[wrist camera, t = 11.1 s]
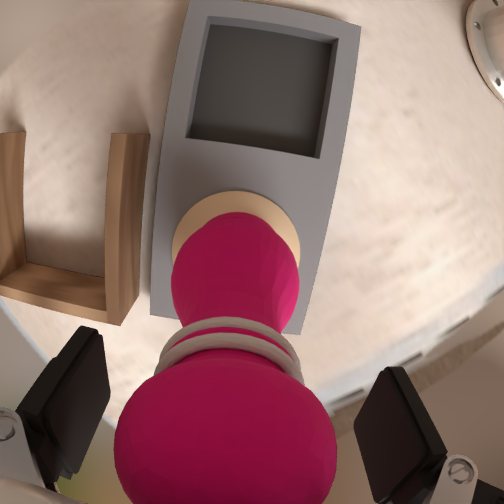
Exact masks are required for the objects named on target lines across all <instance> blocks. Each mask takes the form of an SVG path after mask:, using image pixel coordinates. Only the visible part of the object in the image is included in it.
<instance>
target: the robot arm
mask: <svg viewBox="0 0 504 504" xmlns="http://www.w3.org/2000/svg"><path fill="white" fill-rule="evenodd" d="M466 31H467V38H468V42H469V46H470V50H471V52H472V55H473V58H474V60H475V63H476V65H477V67H478V69H479V71H480V73H481V75H482V77H483V78H484V80H485V82H486V83H487V85H488V86H489V88H490V89H491V90H492V92H493V93H494V95H495V96H496V97H497V98H498V99H499V100H500V101H501V102H502V103H503V104H504V0H474V1H473V2H472V3H471V4H470V6H469V8H468V11H467V15H466ZM110 393H111V392H110V385H109V379H108V373H107V366H106V359H105V351H104V343H103V336H102V335H100V334H99V333H98V330H97V329H94V328H90V327H86V326H80V327H79V328H78V329H77V330H76V332H75V333H74V334H73V336H72V337H71V338H70V339H69V341H68V342H67V343H66V345H65V346H64V347H63V349H62V350H61V351H60V353H59V354H58V356H57V357H55V358H53V359H52V360H51V361H50V362H49V363H48V365H47V366H46V367H45V369H44V370H43V372H42V373H41V374H40V376H39V377H38V378H37V380H36V381H35V383H34V384H33V386H32V387H31V388H30V390H29V391H28V393H27V394H26V396H25V397H24V399H23V400H22V402H21V403H20V404H19V406H18V407H17V409H16V411H13V410H11V409H9V408H5V407H0V504H87V503H84V502H81V501H78V500H75V499H72V498H70V497H67V496H64V495H62V494H60V493H59V490H58V487H57V485H56V483H55V482H57V480H58V478H59V476H62V477H64V478H67V479H71V477H72V475H73V473H74V474H77V473H78V471H79V469H80V467H81V465H82V462H83V460H84V457H85V455H86V452H87V450H88V448H89V445H90V443H91V440H92V438H93V436H94V434H95V431H96V429H97V426H98V424H99V422H100V420H101V418H102V415H103V413H104V411H105V409H106V406H107V404H108V402H109V399H110ZM354 432H355V435H356V438H357V442H358V445H359V448H360V452H361V456H362V459H363V462H364V466H365V470H366V473H367V477H368V480H369V484H370V488H371V492H372V495H373V499H374V501H375V502H376V503H378V504H504V491H503V490H501V489H499V488H496V487H494V486H492V485H490V484H488V483H485V482H483V481H481V480H479V479H477V478H478V471H477V467H476V466H475V464H474V463H473V462H472V461H471V460H470V459H469V458H467V457H465V456H462V455H453V456H450V457H449V458H447V456H446V454H447V452H448V451H447V449H446V447H445V445H444V443H443V441H442V439H441V437H440V435H439V433H438V431H437V429H436V427H435V426H434V423H433V422H432V420H431V418H430V416H429V414H428V412H427V410H426V408H425V406H424V405H423V402H422V401H421V399H420V397H419V395H418V393H417V391H416V389H415V388H414V386H413V384H412V382H411V380H410V379H409V377H408V375H407V373H406V371H405V370H404V368H403V367H386V368H385V369H384V371H381V372H380V373H379V375H378V377H377V379H376V381H375V383H374V385H373V387H372V389H371V391H370V393H369V395H368V397H367V399H366V401H365V402H364V404H363V406H362V408H361V410H360V412H359V413H358V415H357V417H356V419H355V421H354Z"/></svg>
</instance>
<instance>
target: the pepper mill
mask: <svg viewBox="0 0 504 504" xmlns="http://www.w3.org/2000/svg"><path fill="white" fill-rule="evenodd" d="M299 282H300V280H299V274H298V268H297V263H296V260H295V257H294V255H293V253H292V251H291V249H290V248H289V246H288V245H287V243H286V242H285V241H284V240H283V239H282V238H281V237H280V236H279V235H278V234H277V233H276V232H275V231H274V230H273V228H272V227H271V226H270V225H269V224H268V223H267V222H265V221H264V220H263V219H261V218H259V217H257V216H255V215H252V214H249V213H245V212H230V213H225V214H221V215H218V216H216V217H214V218H212V219H211V220H209V221H208V222H207V223H206V224H205V225H204V226H203V227H201V228H200V229H198V230H197V231H196V232H194V233H193V234H192V235H191V236H190V237H189V238H188V239H187V240H186V241H185V242H184V244H183V245H182V247H181V248H180V250H179V252H178V254H177V257H176V259H175V262H174V266H173V270H172V274H171V292H172V299H173V305H174V308H175V311H176V314H177V316H178V318H179V320H180V322H181V324H182V326H183V328H182V329H180V330H179V331H178V332H176V333H175V334H174V335H173V336H172V337H171V338H170V339H169V340H168V342H167V343H166V345H165V346H164V348H163V350H162V352H161V354H160V358H159V363H158V365H157V367H156V369H155V372H154V376H153V377H151V378H149V379H147V380H146V381H145V382H144V383H143V384H142V385H141V386H140V387H139V388H138V389H137V390H136V391H135V392H134V393H133V395H132V396H131V397H130V399H129V400H128V402H127V403H126V405H125V407H124V409H123V411H122V413H121V415H120V417H119V420H118V424H117V428H116V432H115V439H114V459H115V468H116V471H117V474H118V478H119V480H120V483H121V485H122V487H123V490H124V492H125V493H126V494H127V496H128V497H129V499H130V500H131V502H132V503H133V504H322V503H323V501H324V500H325V498H326V497H327V495H328V494H329V491H330V488H331V486H332V483H333V481H334V478H335V473H336V463H337V462H336V461H337V444H336V438H335V432H334V428H333V426H332V423H331V421H330V418H329V416H328V414H327V412H326V410H325V409H324V407H323V405H322V403H321V402H320V401H319V400H318V398H317V397H316V396H315V395H314V394H313V392H312V391H311V390H309V389H308V388H307V387H305V384H304V379H303V376H302V373H301V367H300V361H299V358H298V356H297V354H296V352H295V350H294V348H293V347H292V346H291V344H290V343H289V342H288V340H286V339H285V338H284V337H283V336H282V335H281V332H282V330H283V329H284V328H285V326H286V325H287V323H288V321H289V320H290V318H291V316H292V314H293V312H294V309H295V306H296V303H297V299H298V294H299Z"/></svg>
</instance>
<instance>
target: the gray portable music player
mask: <svg viewBox="0 0 504 504" xmlns="http://www.w3.org/2000/svg"><path fill="white" fill-rule="evenodd" d="M360 33H361V26H358V25H354V24H351V23H348V22H344V21H341V20H337V19H334V18H330V17H326V16H322V15H318V14H314V13H309V12H305V11H300V10H295V9H290V8H285V7H280V6H274V5H268V4H261V3H254V2H246V1H237V0H190V1H189V5H188V9H187V13H186V17H185V21H184V25H183V29H182V34H181V38H180V43H179V48H178V52H177V57H176V62H175V67H174V72H173V78H172V83H171V89H170V94H169V100H168V106H167V113H166V119H165V126H164V133H163V140H162V148H161V156H160V164H159V173H158V182H157V192H156V203H155V215H154V228H153V243H152V262H151V289H150V315H154V316H160V317H166V318H172V319H178V320H179V318H178V316H177V314H176V311H175V308H174V305H173V299H172V292H171V274H172V270H173V266H174V262H175V259H176V257H177V254H178V252H179V250H180V248H181V247H182V245H183V244H184V242H185V241H186V240H187V239H188V238H189V237H190V236H191V235H192V234H193V233H194V232H196V231H197V230H198V229H200V228H201V227H203V226H204V225H205V224H206V223H207V222H208V221H209V220H211V219H212V218H214V217H216V216H218V215H221V214H225V213H230V212H245V213H249V214H252V215H255V216H257V217H259V218H261V219H263V220H264V221H265V222H267V223H268V224H269V225H270V226H271V227H272V228H273V230H274V231H275V232H276V233H277V234H278V235H279V236H280V237H281V238H282V239H283V240H284V241H285V242H286V243H287V245H288V246H289V248H290V249H291V251H292V253H293V255H294V257H295V260H296V263H297V268H298V274H299V280H300V282H299V294H298V299H297V303H296V306H295V309H294V312H293V314H292V316H291V318H290V320H289V321H288V323H287V325H286V326H285V328H284V329H283V330H282V332H281V333H284V334H294V335H300V333H301V330H302V326H303V323H304V319H305V315H306V312H307V308H308V304H309V300H310V297H311V293H312V289H313V285H314V281H315V277H316V273H317V269H318V265H319V261H320V257H321V252H322V248H323V244H324V240H325V235H326V231H327V226H328V222H329V217H330V213H331V208H332V204H333V199H334V194H335V189H336V184H337V179H338V174H339V169H340V164H341V159H342V153H343V148H344V142H345V137H346V131H347V125H348V119H349V113H350V107H351V100H352V94H353V87H354V80H355V73H356V66H357V58H358V50H359V42H360Z"/></svg>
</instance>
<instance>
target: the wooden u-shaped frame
mask: <svg viewBox="0 0 504 504" xmlns="http://www.w3.org/2000/svg"><path fill="white" fill-rule="evenodd" d="M25 137H26V132H11V133H0V295H1V296H5V297H8V298H11V299H14V300H18V301H21V302H25V303H28V304H32V305H35V306H39V307H42V308H46V309H50V310H54V311H57V312H61V313H65V314H69V315H73V316H77V317H81V318H86V319H90V320H94V321H99V322H103V323H108V324H112V325H117V326H120V325H121V324H122V322H123V320H124V319H125V317H126V315H127V314H128V312H129V311H130V309H131V307H132V306H133V304H134V302H135V301H136V299H137V298H138V296H139V278H140V246H141V227H142V212H143V198H144V187H145V176H146V167H147V158H148V149H149V141H150V135H146V134H127V133H112V134H111V143H110V152H109V163H108V175H107V189H106V209H105V278H102V277H97V276H92V275H87V274H81V273H76V272H71V271H66V270H61V269H56V268H52V267H47V266H42V265H38V264H33V263H28V262H27V261H26V250H25V237H24V217H23V170H24V150H25Z"/></svg>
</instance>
